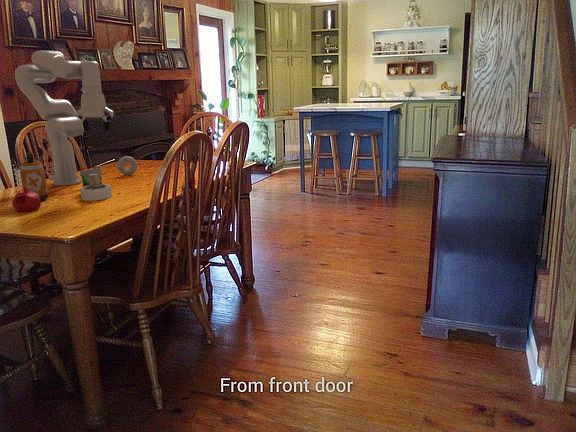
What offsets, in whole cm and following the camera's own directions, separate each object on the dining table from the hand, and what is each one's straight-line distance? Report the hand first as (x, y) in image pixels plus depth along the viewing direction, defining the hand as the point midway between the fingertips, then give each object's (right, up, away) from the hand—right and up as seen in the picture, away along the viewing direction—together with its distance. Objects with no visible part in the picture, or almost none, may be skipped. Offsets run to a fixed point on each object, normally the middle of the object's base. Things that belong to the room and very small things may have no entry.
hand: (96, 130), depth 220 cm
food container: (-1, -27, +3) cm, 27 cm away
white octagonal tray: (+4, -30, -11) cm, 33 cm away
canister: (-21, -31, -11) cm, 39 cm away
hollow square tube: (+4, -30, -11) cm, 33 cm away
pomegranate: (-16, -36, -28) cm, 48 cm away
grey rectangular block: (+4, -29, -11) cm, 32 cm away
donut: (+2, -17, +39) cm, 42 cm away
